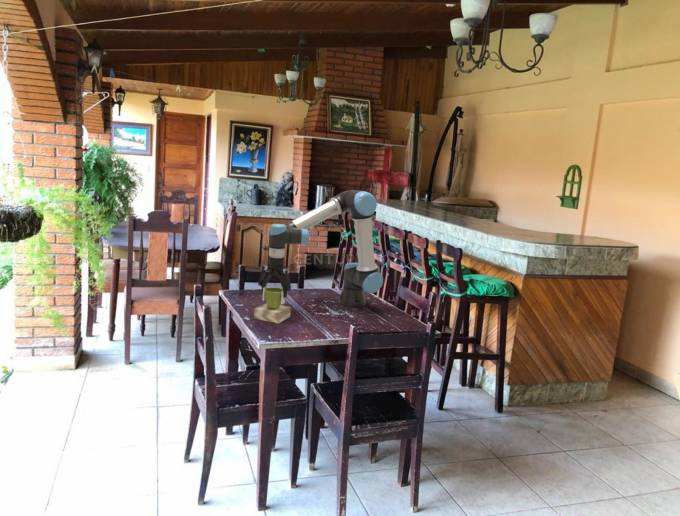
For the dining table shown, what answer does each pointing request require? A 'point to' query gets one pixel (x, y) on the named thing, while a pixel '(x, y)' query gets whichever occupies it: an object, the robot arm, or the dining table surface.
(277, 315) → the ash block
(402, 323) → the dining table surface
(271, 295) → the plant pot
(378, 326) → the dining table surface
